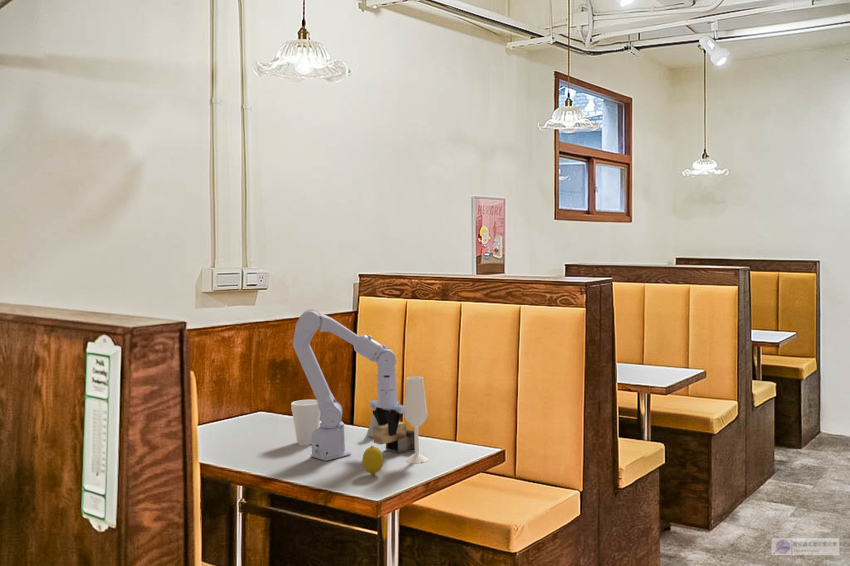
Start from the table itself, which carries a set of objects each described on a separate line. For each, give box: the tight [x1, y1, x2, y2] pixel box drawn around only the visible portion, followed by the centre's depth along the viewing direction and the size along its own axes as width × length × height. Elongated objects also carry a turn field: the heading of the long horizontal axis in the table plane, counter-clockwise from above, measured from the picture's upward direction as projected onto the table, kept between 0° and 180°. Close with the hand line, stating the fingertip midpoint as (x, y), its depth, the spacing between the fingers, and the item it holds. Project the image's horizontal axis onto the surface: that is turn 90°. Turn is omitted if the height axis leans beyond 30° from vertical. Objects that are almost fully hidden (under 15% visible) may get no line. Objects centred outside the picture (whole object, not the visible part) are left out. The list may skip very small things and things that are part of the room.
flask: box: [366, 407, 378, 438], centre depth 256 cm, size 7×7×10 cm
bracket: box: [385, 428, 415, 454], centre depth 237 cm, size 6×10×6 cm, turn 43°
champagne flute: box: [403, 375, 429, 464], centre depth 224 cm, size 7×7×24 cm
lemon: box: [362, 445, 384, 476], centre depth 211 cm, size 6×6×8 cm
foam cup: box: [290, 399, 321, 446], centre depth 249 cm, size 10×9×13 cm
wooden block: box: [372, 421, 407, 446], centre depth 234 cm, size 10×4×5 cm, turn 133°
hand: (388, 434), depth 234 cm, fingers closed on wooden block, 3 cm apart
